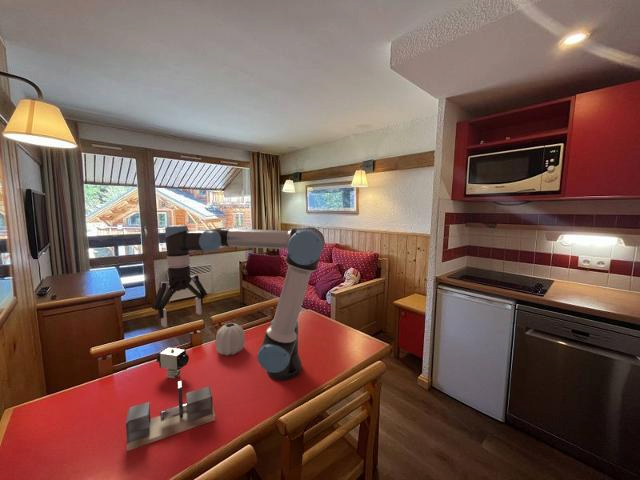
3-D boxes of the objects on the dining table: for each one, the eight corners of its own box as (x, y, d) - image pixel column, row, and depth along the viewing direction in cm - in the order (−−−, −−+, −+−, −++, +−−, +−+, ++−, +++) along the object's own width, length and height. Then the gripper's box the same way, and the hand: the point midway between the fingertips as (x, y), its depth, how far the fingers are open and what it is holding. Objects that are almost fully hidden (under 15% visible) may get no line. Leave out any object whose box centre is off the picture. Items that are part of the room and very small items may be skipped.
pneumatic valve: (182, 381, 107) (180, 353, 106) (157, 377, 109) (155, 350, 108) (191, 373, 112) (190, 346, 111) (167, 369, 115) (166, 343, 113)
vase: (249, 353, 129) (248, 326, 128) (219, 362, 121) (218, 334, 120) (240, 341, 140) (239, 317, 139) (212, 348, 133) (211, 323, 131)
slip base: (211, 402, 96) (210, 381, 95) (215, 419, 88) (214, 397, 87) (130, 428, 84) (128, 404, 83) (126, 451, 76) (124, 425, 75)
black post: (207, 403, 93) (206, 372, 92) (209, 412, 89) (208, 380, 88) (161, 418, 86) (159, 385, 85) (160, 428, 82) (159, 394, 81)
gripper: (203, 259, 113) (206, 307, 116) (137, 271, 93) (142, 329, 95) (214, 261, 109) (216, 311, 111) (147, 273, 88) (152, 334, 91)
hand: (182, 319), depth 103 cm, fingers open, 13 cm apart
